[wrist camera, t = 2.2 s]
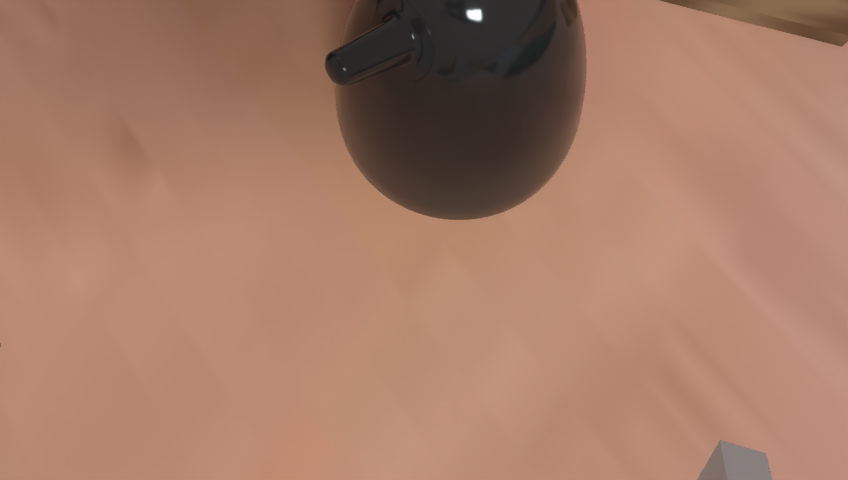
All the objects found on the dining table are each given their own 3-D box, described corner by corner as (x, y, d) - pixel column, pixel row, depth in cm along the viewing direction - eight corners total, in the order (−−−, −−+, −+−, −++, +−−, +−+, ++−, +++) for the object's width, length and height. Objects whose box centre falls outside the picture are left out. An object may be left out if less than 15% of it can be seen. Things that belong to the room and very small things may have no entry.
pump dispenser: (299, 119, 37) (216, -77, 22) (470, -5, 38) (500, -267, 23) (432, 286, 35) (440, 197, 20) (606, 151, 36) (732, -25, 22)
